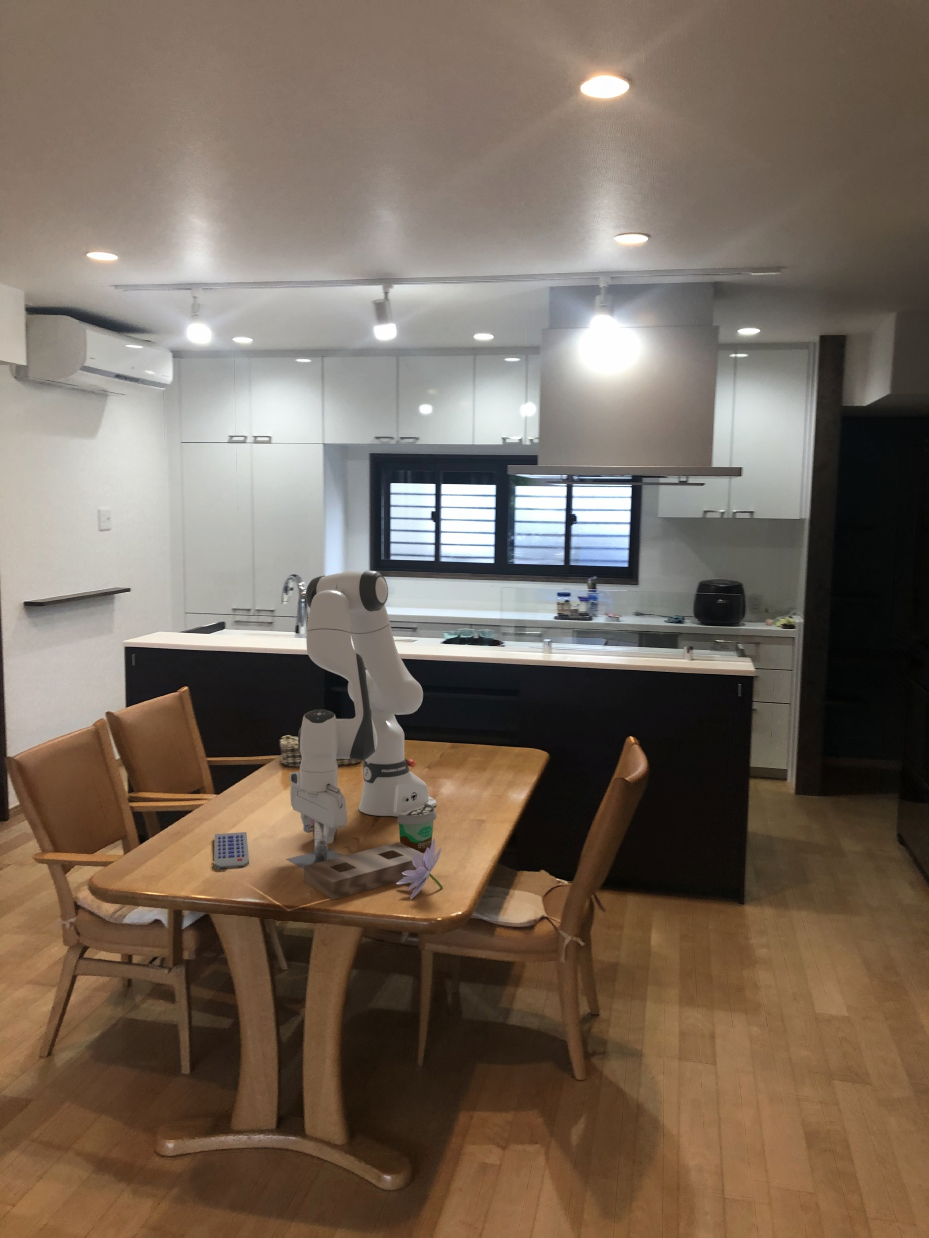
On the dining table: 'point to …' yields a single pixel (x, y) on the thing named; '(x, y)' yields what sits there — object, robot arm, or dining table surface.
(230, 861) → the remote control
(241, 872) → the dining table surface
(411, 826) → the food container
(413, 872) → the water lily
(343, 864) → the hole block
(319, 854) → the peg
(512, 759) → the dining table surface
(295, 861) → the mat
